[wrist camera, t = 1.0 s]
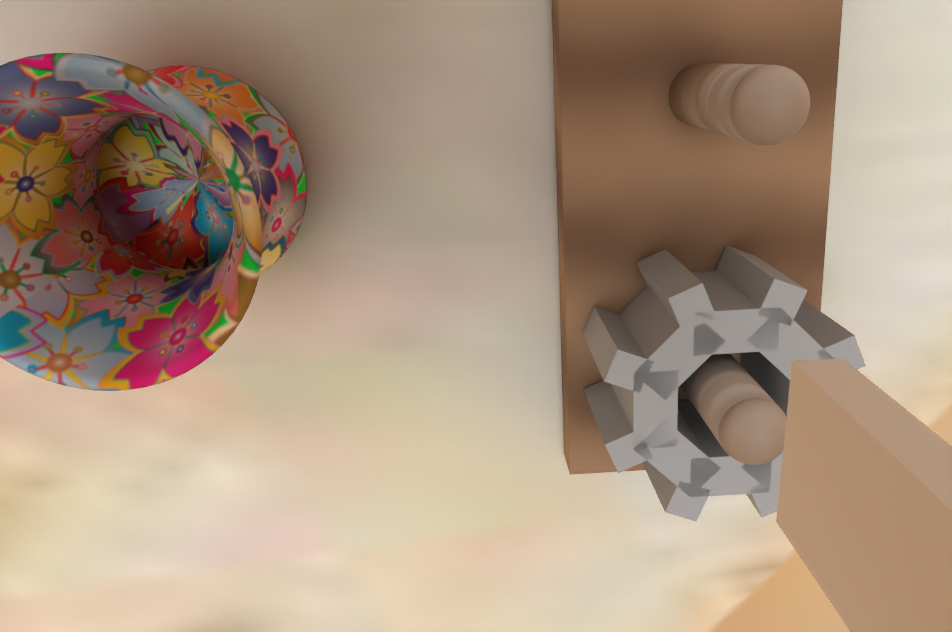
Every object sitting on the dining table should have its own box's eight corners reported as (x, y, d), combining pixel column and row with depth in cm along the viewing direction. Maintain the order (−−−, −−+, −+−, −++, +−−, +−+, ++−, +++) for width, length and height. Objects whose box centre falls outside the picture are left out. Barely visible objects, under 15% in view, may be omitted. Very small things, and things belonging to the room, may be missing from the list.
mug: (200, 0, 31) (73, -29, 20) (369, 192, 33) (330, 253, 23) (-16, 208, 33) (-228, 276, 23) (157, 376, 35) (35, 506, 25)
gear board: (551, -41, 30) (594, -86, 21) (822, -57, 30) (992, -109, 21) (564, 452, 36) (602, 595, 27) (791, 438, 36) (911, 576, 27)
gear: (580, 253, 32) (603, 289, 27) (810, 239, 32) (873, 272, 27) (584, 461, 34) (605, 527, 29) (796, 448, 34) (852, 511, 29)
